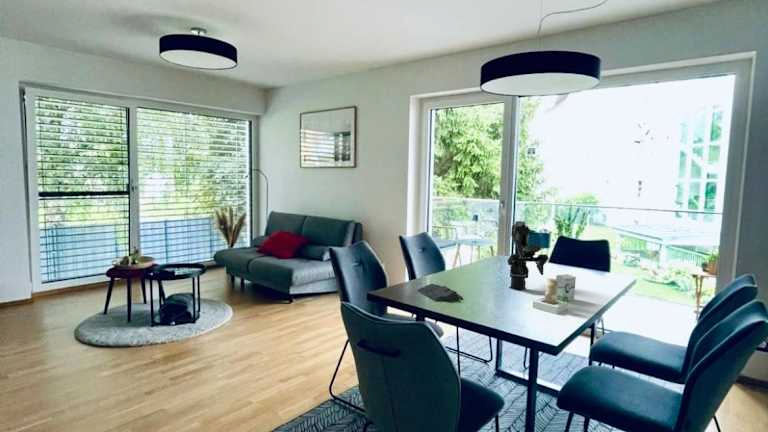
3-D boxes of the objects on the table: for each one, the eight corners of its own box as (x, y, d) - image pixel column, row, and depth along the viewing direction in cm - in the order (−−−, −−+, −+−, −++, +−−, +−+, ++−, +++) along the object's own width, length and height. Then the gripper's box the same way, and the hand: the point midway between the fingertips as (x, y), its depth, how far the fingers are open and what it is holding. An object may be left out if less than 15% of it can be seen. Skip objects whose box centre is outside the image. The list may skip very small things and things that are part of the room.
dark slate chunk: (441, 288, 220) (441, 279, 219) (465, 301, 200) (466, 291, 199) (414, 291, 213) (415, 282, 213) (437, 304, 193) (437, 293, 193)
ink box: (562, 302, 201) (564, 277, 200) (553, 299, 205) (555, 275, 204) (574, 300, 205) (576, 276, 204) (565, 297, 209) (567, 273, 208)
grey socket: (532, 307, 191) (532, 301, 191) (544, 303, 198) (544, 297, 198) (556, 314, 183) (556, 307, 182) (567, 309, 190) (568, 302, 190)
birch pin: (544, 309, 189) (546, 280, 188) (544, 306, 194) (545, 278, 192) (556, 310, 187) (558, 281, 186) (555, 307, 192) (557, 279, 191)
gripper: (511, 237, 201) (521, 265, 191) (548, 237, 204) (559, 265, 195) (503, 251, 210) (512, 278, 200) (538, 251, 213) (548, 278, 203)
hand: (533, 274), depth 199 cm, fingers open, 9 cm apart
